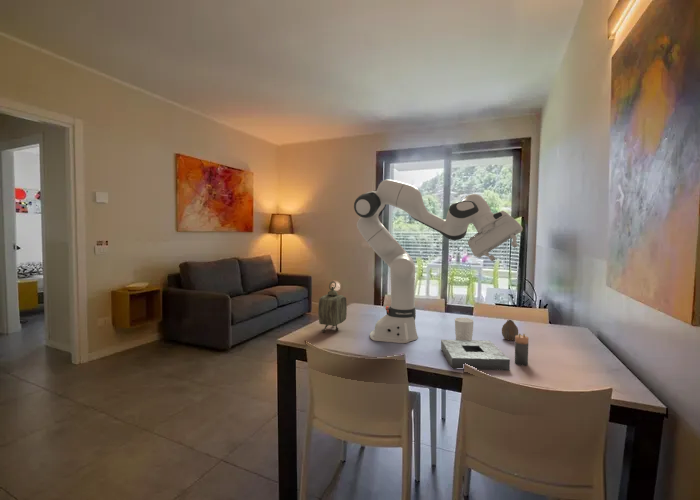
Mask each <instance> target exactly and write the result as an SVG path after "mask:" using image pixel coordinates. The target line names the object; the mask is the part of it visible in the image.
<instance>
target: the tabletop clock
mask: <svg viewBox="0 0 700 500" xmlns="http://www.w3.org/2000/svg"><path fill="white" fill-rule="evenodd" d="M332 284H334V286H331V285H332ZM336 287H337V282H336V281H334V280H333V281H330V282H329V285H328V289H329V291H328V292H327V294H325V295H324V294H323V295H322V296H320V298H319V299H318V310H317V311H318V323H319V325H324V328H322V330H321V332H322V333H323V332H324V333H326V329H327V328H328V327H329V326H331V327H333V326H335V331H337V332H339V330H340V329H339V327H338V325H340V324H342V323H344V322H345V321H346V319H347V316H348V315H347V310H348V308H347V305H348V304H347V302H348V301H347V297H345V295H343V294H338V291H337V290H335V289H336Z"/></svg>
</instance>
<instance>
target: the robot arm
mask: <svg viewBox="0 0 700 500" xmlns="http://www.w3.org/2000/svg"><path fill="white" fill-rule="evenodd" d="M387 205H389V206H393V207H395V208H398V209H400V210H403V211H404V212H406V213H407V214H408V215H409V216H410V217H411V219H412V220H414V221H416V222H418V223H420V224H421V225H424V226H426V227H428V228H430V229H432V230H434V231H436V232H437V233H439V234H441V235H443V237H445V238H446V239H448V240H452V241H459V240H461V239H464V238H465V237H466V235H467V232H468V229H469V225H470V224H472V225H473V226H474V228H475V230H476V233H475V234H474V235H473V236H470V237H469V238H468V239H469V240H468V241H467V245H468V247H469V248H470V251H471V253H472V255H473V256H474V257H476V258H482V257H483V256H486V257H487V258H488V259H489V260H490V261H491V262H494V261H495V260H496V258H495V255H493V254H491V255H490V252H491V251H493V250H494V249H496V248H498V247H499V246H500V245H503V244H505V242H507V241H508V240H511V239H512V242H511V243H510V244H511V246H512V247H513V248H517V247H518V246H519V244H518V243H517V238H518V237H517V235H519V234H520V233H522V232H523V229H524V228H523V226H522V225H521V224H520V223H519V221H518V220H517V219H515V218H514V217H513V216H512V215H510V214H509V213H508V212H507V211H505V210H501V211H498V212H493V211H492V210H491V207H490V205H489V204H488V202H487V200H485V198H483V197H482V196H481V195H479V194H478V193H470V194H468V195H466V196H465V197H464V198H463V199H462V200H460V201H456V202H453V203H451V204H450V206H449V208H448V209H447V210H448V211H447V214H446V218H445V219H443V218H442V217H440V216H438V215H436V214H434V213H432V212H430V211H429V210H428V209H427V208H426V206H425V203H424V199H423V195H422V193H421V191H420V190H419V189H418V187H416V186H414V185H411V184H409V183H405V182H402V181H399V180H394V179H384V180H382V181H381V182H380V183H379V184H378V187H377V189H376V190H371V191H367V192H364V193H362V194H361V195H359V196H357V198H356V199H355V201H354V203H353V210H354V212H355V213H356V215H357V216H359V218H358V220H357V222H356V228H357V230H358V232H359V233H360V235H361V236H362V238H363V239H364V241H365V242H366V243H367V244H368V246H369V247H370V248H371V249H372V251H374V253H375V254H376V255H377V256H378V257H379V259H381V260H382V261H383V262H384V263H385V264H386V265H387V267H389V269H390V270H389V271H390V272H389V273H390V276H389V277H390V306H389V305H386V306H385V307H384V308H385V311H386V314H385V315H384V316H383V317H381V318H380V319H379V320H378V319H377V321H376V323H375V326H374V329H373V330H371V332H370V333H369V338H370V339H371V340H372V341H374V342H375V341H376V342H383V343H384V342H386V343H395V344H396V343H399V344H407V343H409V342H412V341H415V340H418V338H419V335H418V333H417V328H416V327H417V326H416V318H417V317H416V311H417V310H416V306H415V299H416V298H415V293H416V292H415V289H416V288H415V287H416V266H415V262H414V259H413V258H412V257H411V255H410V254H409V253H408V252H407V251H406V250H405V249H404V247H403V246H402V245H401V244H400V243H399V242H398V241H397V239H395V238H394V236H393V235H392V234H391V233H390V231H389V230H388V229H387V228H386V227H385V226H384V225H383V223H382V222H381V221H380V218H379V217H380V216H381V215H382V214H383V212H384V210H385V209H386V206H387Z"/></svg>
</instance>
